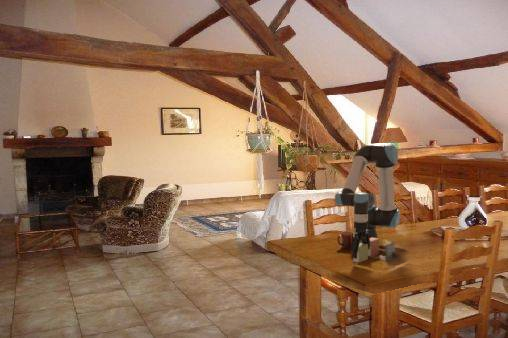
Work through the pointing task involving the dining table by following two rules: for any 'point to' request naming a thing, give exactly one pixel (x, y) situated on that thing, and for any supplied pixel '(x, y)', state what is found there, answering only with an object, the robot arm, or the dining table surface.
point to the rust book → (373, 247)
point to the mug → (345, 240)
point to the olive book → (362, 252)
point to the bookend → (390, 252)
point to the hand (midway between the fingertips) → (360, 262)
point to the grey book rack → (380, 253)
